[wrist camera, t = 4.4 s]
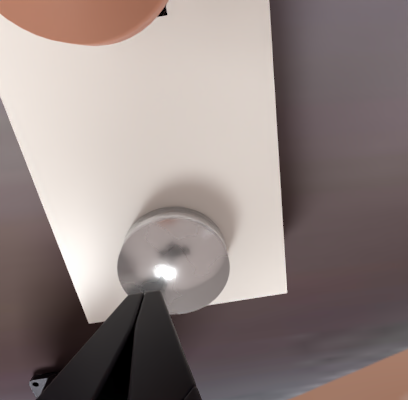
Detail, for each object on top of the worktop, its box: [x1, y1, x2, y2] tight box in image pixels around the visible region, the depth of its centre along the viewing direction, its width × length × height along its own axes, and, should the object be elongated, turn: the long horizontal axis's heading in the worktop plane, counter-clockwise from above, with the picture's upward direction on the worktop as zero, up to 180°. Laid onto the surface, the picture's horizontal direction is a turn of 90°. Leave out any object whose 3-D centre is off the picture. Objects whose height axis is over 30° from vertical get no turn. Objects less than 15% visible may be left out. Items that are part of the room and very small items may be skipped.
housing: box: [0, 0, 287, 324], centre depth 17 cm, size 21×12×4 cm, turn 9°
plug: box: [117, 206, 230, 314], centre depth 19 cm, size 6×6×5 cm
